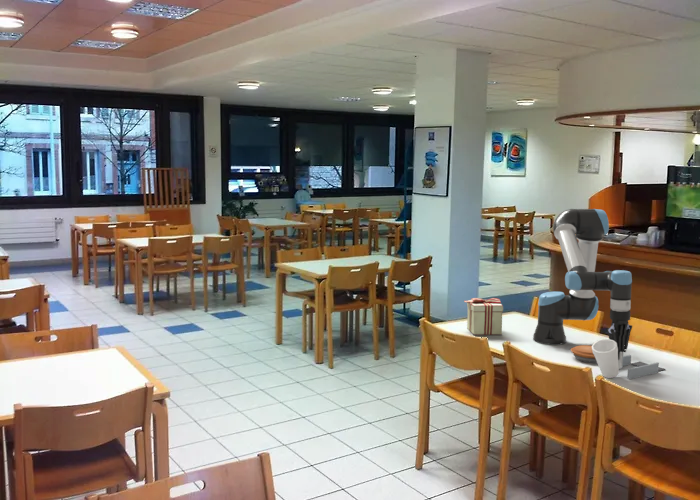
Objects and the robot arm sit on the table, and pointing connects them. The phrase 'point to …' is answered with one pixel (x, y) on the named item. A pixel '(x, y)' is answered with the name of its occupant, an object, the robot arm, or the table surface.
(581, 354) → the pie
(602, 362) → the foam cup
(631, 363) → the trap mat
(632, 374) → the channel
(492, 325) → the gift box
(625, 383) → the table surface
